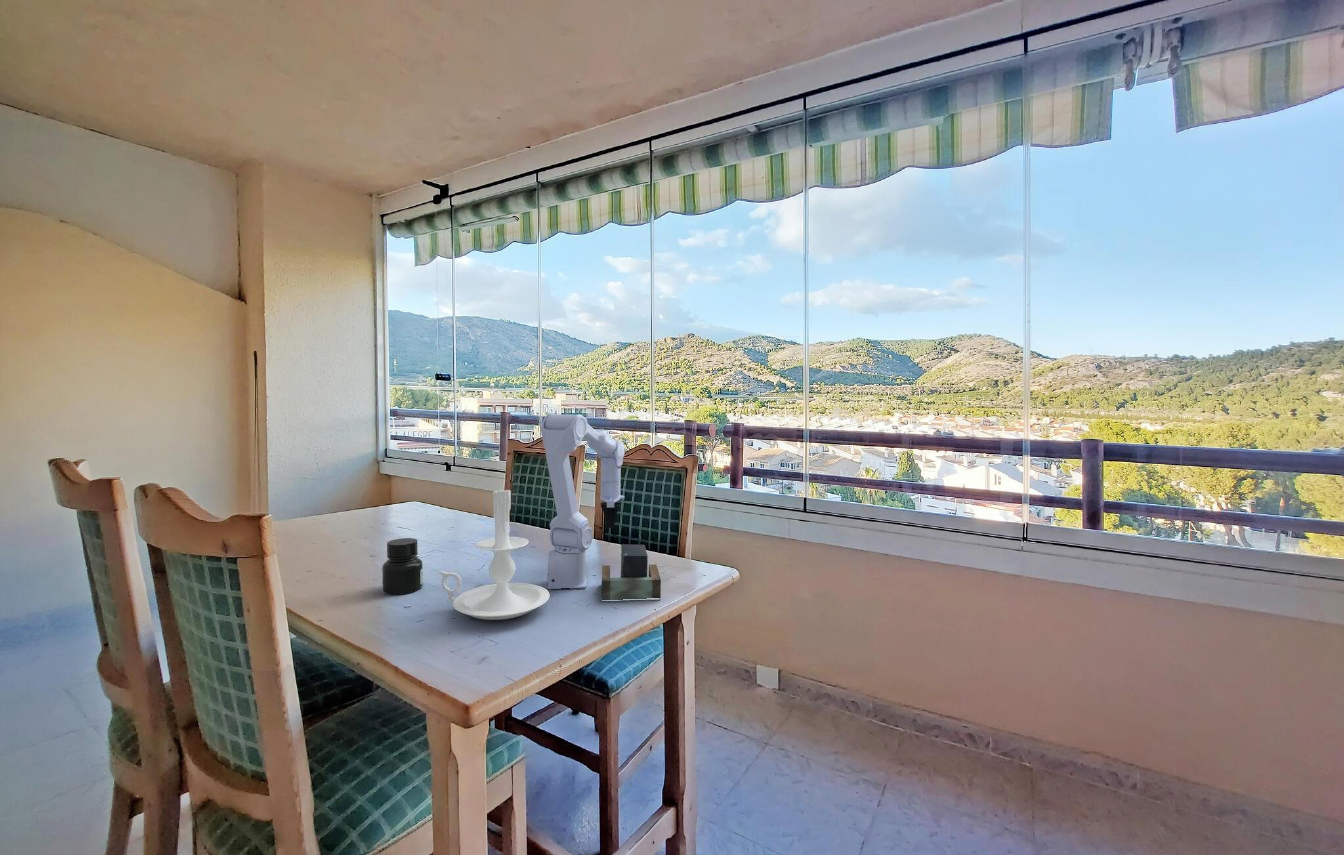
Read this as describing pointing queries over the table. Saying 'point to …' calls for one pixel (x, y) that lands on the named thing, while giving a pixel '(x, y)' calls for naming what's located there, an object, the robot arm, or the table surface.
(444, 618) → the table surface
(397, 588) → the ink bottle
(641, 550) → the small box
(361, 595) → the table surface
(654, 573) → the book slot
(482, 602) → the candlestick
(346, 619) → the table surface
